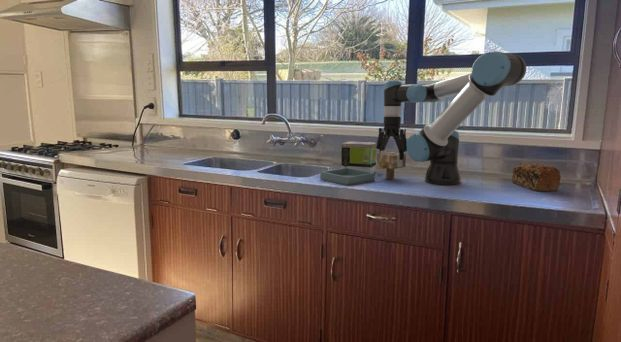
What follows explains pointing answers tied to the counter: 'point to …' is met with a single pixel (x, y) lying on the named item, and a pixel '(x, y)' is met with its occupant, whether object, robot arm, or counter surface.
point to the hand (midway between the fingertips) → (391, 165)
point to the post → (389, 173)
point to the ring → (389, 160)
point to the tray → (347, 176)
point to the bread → (536, 177)
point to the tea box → (359, 156)
